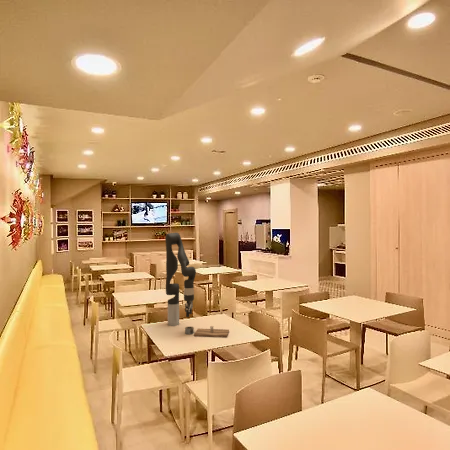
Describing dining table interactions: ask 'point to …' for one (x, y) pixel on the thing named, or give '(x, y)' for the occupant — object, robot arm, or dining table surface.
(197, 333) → the post base
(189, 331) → the steel ring
